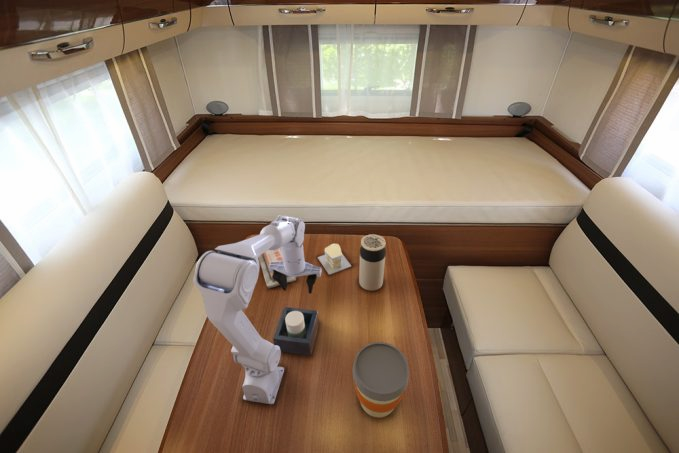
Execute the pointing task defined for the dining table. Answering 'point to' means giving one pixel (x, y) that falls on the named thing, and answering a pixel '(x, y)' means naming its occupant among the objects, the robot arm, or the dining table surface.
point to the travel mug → (372, 262)
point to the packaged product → (265, 262)
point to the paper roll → (295, 325)
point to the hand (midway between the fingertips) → (298, 289)
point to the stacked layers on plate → (334, 259)
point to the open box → (291, 342)
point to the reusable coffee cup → (380, 377)
